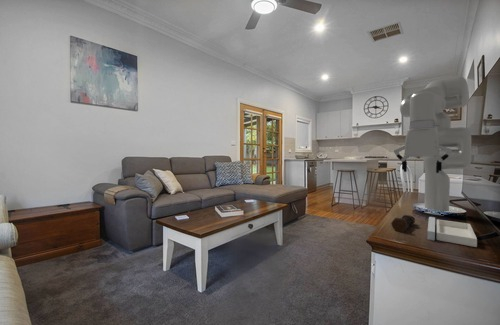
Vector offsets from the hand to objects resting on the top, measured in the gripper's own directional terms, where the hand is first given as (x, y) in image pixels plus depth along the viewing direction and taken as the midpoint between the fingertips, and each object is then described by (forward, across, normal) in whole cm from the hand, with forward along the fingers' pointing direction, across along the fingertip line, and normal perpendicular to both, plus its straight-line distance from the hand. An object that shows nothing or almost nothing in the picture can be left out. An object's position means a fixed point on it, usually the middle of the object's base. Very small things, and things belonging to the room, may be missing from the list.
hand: (420, 172), depth 84 cm
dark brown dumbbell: (+24, +5, -6) cm, 25 cm away
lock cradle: (+23, -10, -6) cm, 26 cm away
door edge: (+23, -4, -6) cm, 24 cm away
